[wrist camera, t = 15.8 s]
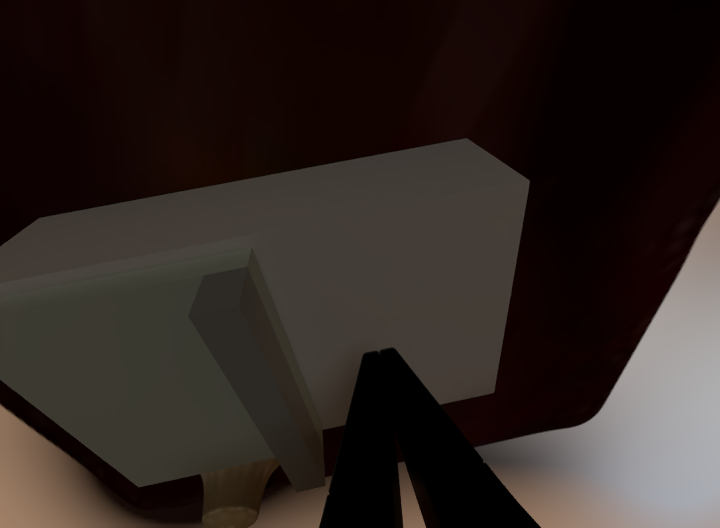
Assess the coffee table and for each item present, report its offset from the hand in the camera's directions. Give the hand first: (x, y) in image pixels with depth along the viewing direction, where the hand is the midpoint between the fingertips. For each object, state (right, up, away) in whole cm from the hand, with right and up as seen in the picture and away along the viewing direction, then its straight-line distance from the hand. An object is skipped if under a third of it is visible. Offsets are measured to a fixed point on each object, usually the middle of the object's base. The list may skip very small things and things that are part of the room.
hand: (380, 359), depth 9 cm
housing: (-5, +1, +12) cm, 13 cm away
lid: (-9, -3, +7) cm, 12 cm away
